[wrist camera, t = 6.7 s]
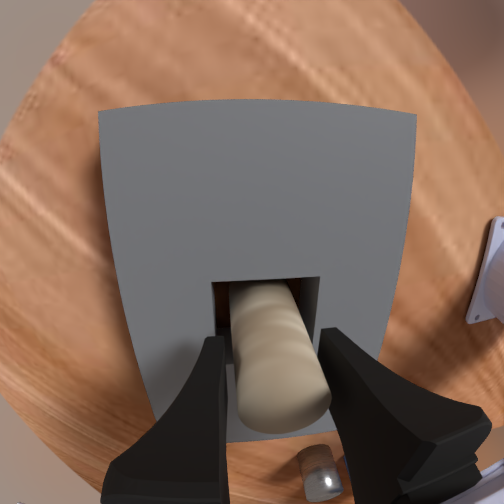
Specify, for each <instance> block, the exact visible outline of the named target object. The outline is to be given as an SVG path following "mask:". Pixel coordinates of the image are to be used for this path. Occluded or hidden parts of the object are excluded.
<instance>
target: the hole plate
mask: <svg viewBox="0 0 504 504" xmlns="http://www.w3.org/2000/svg"><path fill="white" fill-rule="evenodd" d="M98 119H99V140H100V155H101V168H102V178H103V188H104V197H105V205H106V213H107V220H108V227H109V234H110V240H111V247H112V252H113V258H114V264H115V269H116V274H117V279H118V284H119V289H120V294H121V299H122V303H123V308H124V312H125V316H126V320H127V324H128V329H129V332H130V336H131V340H132V344H133V348H134V351H135V355H136V359H137V362H138V366H139V369H140V372H141V376H142V379H143V382H144V386H145V389H146V392H147V395H148V398H149V401H150V404H151V407H152V410H153V413H154V416H155V419H156V422H157V421H158V420H159V419H160V418H161V416H162V415H163V414H164V413H165V412H166V410H167V409H168V408H169V407H170V405H171V404H172V403H173V401H174V400H175V398H176V397H177V395H178V394H179V392H180V391H181V389H182V388H183V386H184V384H185V382H186V381H187V379H188V377H189V376H190V374H191V372H192V370H193V368H194V366H195V364H196V362H197V359H198V357H199V355H200V352H201V349H202V347H203V343H204V339H205V338H206V337H207V336H224V347H225V361H226V374H227V390H228V410H227V433H226V443H232V442H248V441H260V440H271V439H280V438H289V437H296V436H303V435H310V434H317V433H323V432H328V431H334V430H337V428H336V426H335V423H334V421H333V419H332V416H331V414H330V411H329V409H328V410H327V411H326V413H325V414H324V415H323V416H322V417H321V418H320V419H319V420H317V421H316V422H314V423H313V424H311V425H309V426H308V427H305V428H303V429H301V430H298V431H294V432H290V433H285V434H265V433H260V432H256V431H254V430H251V429H250V428H248V427H246V426H245V425H244V424H243V423H242V422H241V420H240V419H239V416H238V408H237V397H236V385H235V373H234V360H233V347H232V334H231V327H224V328H217V322H216V308H215V294H214V282H221V281H243V280H263V279H282V278H300V277H301V283H300V297H299V309H298V311H299V313H300V315H301V318H302V320H303V323H304V325H305V328H306V330H307V333H308V335H309V338H310V340H311V343H312V345H313V348H314V350H315V353H316V356H317V353H318V346H319V339H320V332H321V329H322V328H332V327H336V328H338V329H339V330H340V331H341V332H343V333H344V334H345V335H346V336H347V337H348V338H349V339H351V340H352V341H353V342H354V343H355V344H357V345H358V346H359V347H360V348H361V349H363V350H364V351H365V352H366V353H368V354H369V355H370V356H371V357H373V358H374V359H375V360H378V356H379V353H380V349H381V346H382V342H383V339H384V335H385V331H386V327H387V323H388V319H389V315H390V311H391V307H392V303H393V298H394V294H395V289H396V285H397V280H398V275H399V270H400V265H401V259H402V254H403V248H404V242H405V236H406V229H407V223H408V215H409V208H410V200H411V191H412V182H413V171H414V159H415V144H416V122H417V115H416V114H411V113H405V112H399V111H393V110H386V109H380V108H372V107H365V106H356V105H347V104H337V103H326V102H313V101H295V100H266V99H231V100H201V101H184V102H171V103H160V104H150V105H141V106H133V107H125V108H118V109H111V110H104V111H98Z"/></svg>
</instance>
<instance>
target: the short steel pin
mask: <svg viewBox="0 0 504 504" xmlns="http://www.w3.org/2000/svg"><path fill="white" fill-rule="evenodd" d="M297 460H298V464H299V469H300V473H301V477H302V481H303V485H304V490H305V494H306V498H307V501H309V502H321V501H326V500H329V499H332V498H334V497H336V496H338V495H340V494H341V493H342V492H343V490H344V489H343V486H342V483H341V480H340V477H339V474H338V471H337V468H336V464H335V461H334V458H333V455H332V452H331V449H330V447H329V446H328V445H323V444H319V445H313V446H310V447H307V448H305V449H303V450H301V451H300V452H299V453H298V454H297Z"/></svg>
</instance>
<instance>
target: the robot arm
mask: <svg viewBox="0 0 504 504" xmlns="http://www.w3.org/2000/svg"><path fill="white" fill-rule="evenodd" d="M492 318H497V319H499V320H500V321H501V322H502V323H503V324H504V217H499V216H497V217H495V218H494V219H493V220H492V223H491V228H490V232H489V237H488V242H487V246H486V250H485V254H484V258H483V262H482V266H481V270H480V274H479V277H478V281H477V284H476V287H475V291H474V294H473V297H472V300H471V303H470V306H469V309H468V312H467V315H466V319H465V320H466V322H467V323H468V324H473V323H477V322H481V321H485V320H488V319H492ZM317 358H318V361H319V363H320V366H321V368H322V371H323V373H324V376H325V378H326V381H327V384H328V386H329V389H330V391H331V395H332V400H331V404H330V406H329V408H328V409H329V411H330V414H331V416H332V419H333V421H334V423H335V426H336V428H337V431H338V434H339V436H340V439H341V443H342V446H343V450H344V454H345V458H346V462H347V466H348V471H349V475H350V480H351V485H352V490H353V495H354V501H355V504H504V458H503V459H501V460H500V461H498V462H496V463H495V464H493V465H491V466H490V467H488V468H486V469H485V470H483V471H481V472H479V470H478V468H477V466H476V465H475V463H476V462H477V461H478V458H477V456H476V455H475V452H476V450H477V449H478V448H479V447H480V445H481V444H482V443H483V442H484V440H485V439H486V438H487V436H488V435H489V433H490V431H491V428H492V423H491V421H490V420H489V418H488V417H487V415H486V414H485V413H484V411H483V410H482V409H481V407H479V406H475V405H470V404H466V403H462V402H458V401H455V400H452V399H449V398H446V397H443V396H440V395H437V394H435V393H432V392H430V391H428V390H425V389H423V388H421V387H419V386H417V385H415V384H413V383H411V382H409V381H407V380H406V379H404V378H402V377H400V376H399V375H397V374H395V373H394V372H392V371H391V370H389V369H388V368H386V367H385V366H384V365H382V364H381V363H379V362H378V361H377V360H375V359H374V358H373V357H371V356H370V355H369V354H368V353H366V352H365V351H364V350H363V349H361V348H360V347H359V346H358V345H357V344H355V343H354V342H353V341H352V340H351V339H349V338H348V337H347V336H346V335H345V334H344V333H343V332H341V331H340V330H339V329H338V328H336V327H332V328H322V329H321V332H320V339H319V346H318V353H317ZM227 410H228V390H227V374H226V361H225V347H224V336H207V337H206V338H205V339H204V343H203V347H202V349H201V352H200V355H199V357H198V359H197V362H196V364H195V366H194V368H193V370H192V372H191V374H190V376H189V377H188V379H187V381H186V382H185V384H184V386H183V388H182V389H181V391H180V392H179V394H178V395H177V397H176V398H175V400H174V401H173V403H172V404H171V405H170V407H169V408H168V409H167V410H166V412H165V413H164V414H163V415H162V416H161V418H160V419H159V420H158V421H157V422H156V423H155V424H154V426H153V427H152V428H151V429H150V430H149V431H148V432H147V433H145V434H144V435H143V436H142V437H141V438H140V439H139V440H138V441H137V442H136V443H135V444H134V445H132V446H131V447H130V448H129V449H127V450H126V451H125V452H124V453H122V454H121V455H120V456H118V457H117V458H116V459H114V460H113V461H111V463H110V465H109V468H108V470H107V473H106V476H105V479H104V482H103V487H102V493H101V500H100V502H101V504H230V497H229V486H228V473H227V460H226V433H227ZM17 504H24V503H21V502H17Z"/></svg>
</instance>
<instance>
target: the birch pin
mask: <svg viewBox="0 0 504 504" xmlns="http://www.w3.org/2000/svg"><path fill="white" fill-rule="evenodd" d="M229 305H230V320H231V334H232V347H233V360H234V373H235V385H236V397H237V408H238V416H239V419H240V420H241V422H242V423H243V424H244V425H245V426H246V427H248V428H250V429H251V430H254V431H256V432H260V433H265V434H285V433H290V432H294V431H298V430H301V429H303V428H305V427H308V426H309V425H311V424H313V423H314V422H316V421H317V420H319V419H320V418H321V417H322V416H323V415H324V414H325V413H326V411H327V410H328V408H329V406H330V404H331V400H332V395H331V391H330V389H329V386H328V384H327V381H326V378H325V376H324V373H323V371H322V368H321V366H320V363H319V361H318V358H317V356H316V353H315V350H314V348H313V345H312V343H311V340H310V338H309V335H308V333H307V330H306V328H305V325H304V323H303V320H302V318H301V315H300V313H299V311H298V308H297V306H296V303H295V301H294V298H293V296H292V293H291V291H290V288H289V286H288V283H287V281H286V279H285V278H282V279H263V280H243V281H230V283H229Z"/></svg>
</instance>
